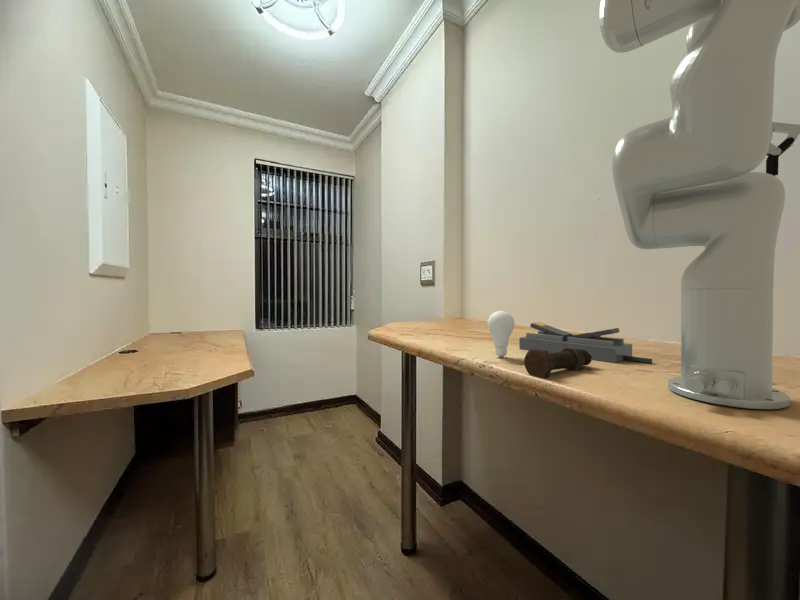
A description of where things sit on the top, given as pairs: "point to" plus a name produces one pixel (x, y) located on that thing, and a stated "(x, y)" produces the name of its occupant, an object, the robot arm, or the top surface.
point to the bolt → (555, 361)
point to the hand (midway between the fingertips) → (731, 186)
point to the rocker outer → (550, 330)
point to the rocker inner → (596, 333)
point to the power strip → (583, 346)
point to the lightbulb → (501, 330)
